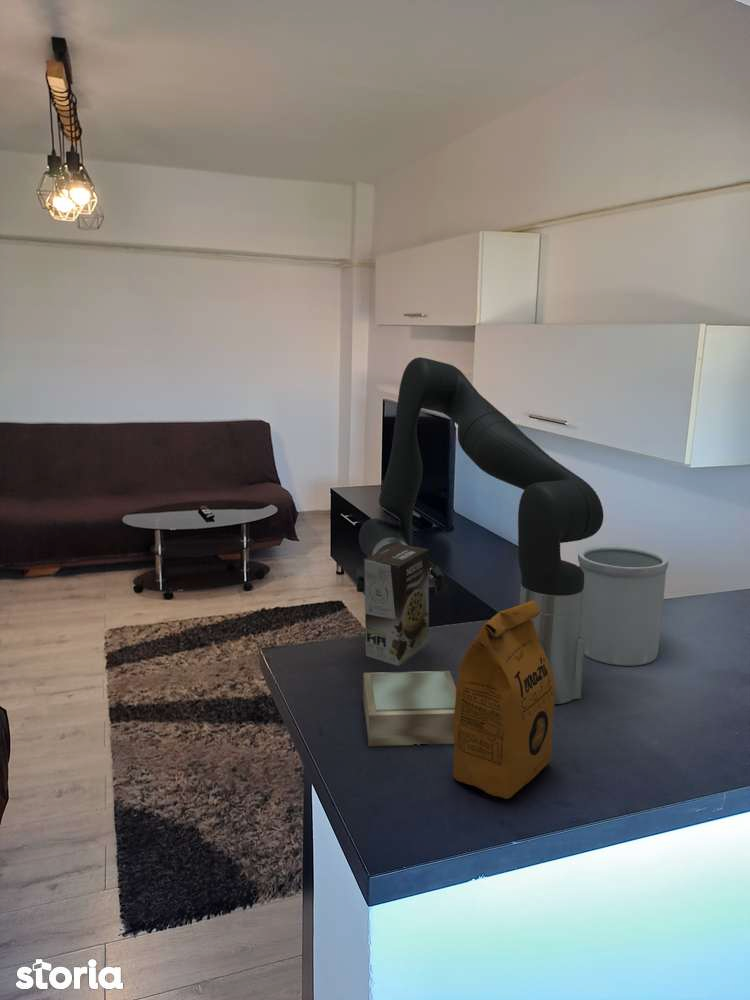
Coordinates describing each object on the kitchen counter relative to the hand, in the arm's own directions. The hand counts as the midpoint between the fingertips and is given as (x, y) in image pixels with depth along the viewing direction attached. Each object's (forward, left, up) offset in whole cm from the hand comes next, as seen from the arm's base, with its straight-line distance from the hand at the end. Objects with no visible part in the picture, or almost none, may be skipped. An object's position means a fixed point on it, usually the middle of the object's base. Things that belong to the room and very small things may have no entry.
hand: (403, 593), depth 117 cm
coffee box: (+1, +1, -9) cm, 9 cm away
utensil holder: (-39, -10, -15) cm, 43 cm away
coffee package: (-10, +27, -15) cm, 32 cm away
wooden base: (0, +13, -15) cm, 20 cm away
